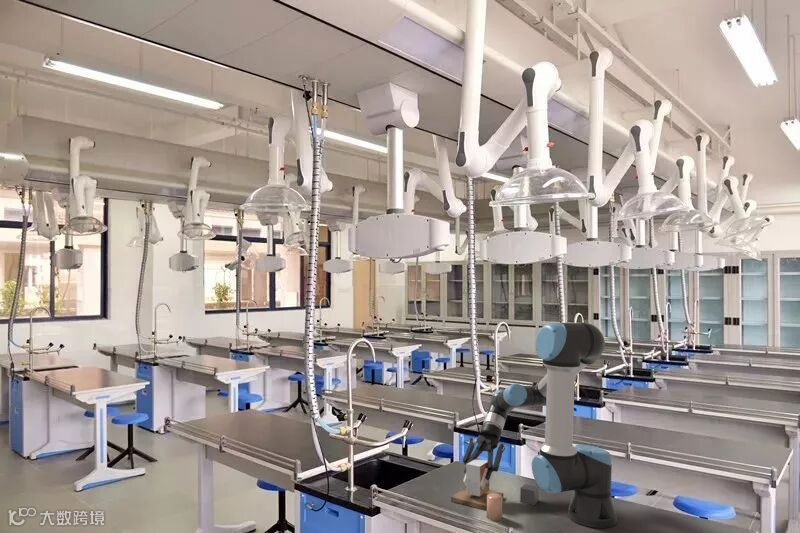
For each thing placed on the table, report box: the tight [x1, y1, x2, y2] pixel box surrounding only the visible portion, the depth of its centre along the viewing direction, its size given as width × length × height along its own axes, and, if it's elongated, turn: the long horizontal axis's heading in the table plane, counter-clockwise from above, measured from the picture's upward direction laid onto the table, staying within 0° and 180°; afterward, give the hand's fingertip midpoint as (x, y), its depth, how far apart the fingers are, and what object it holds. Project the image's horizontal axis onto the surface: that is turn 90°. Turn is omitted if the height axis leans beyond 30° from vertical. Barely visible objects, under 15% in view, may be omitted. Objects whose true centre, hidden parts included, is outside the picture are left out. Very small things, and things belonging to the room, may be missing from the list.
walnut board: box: [450, 486, 504, 511], centre depth 199 cm, size 14×14×2 cm
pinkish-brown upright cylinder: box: [486, 493, 503, 522], centre depth 184 cm, size 5×5×7 cm
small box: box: [465, 458, 490, 496], centre depth 200 cm, size 8×6×10 cm
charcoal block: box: [519, 483, 540, 506], centre depth 199 cm, size 5×5×5 cm
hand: (473, 485), depth 196 cm, fingers closed on small box, 6 cm apart
